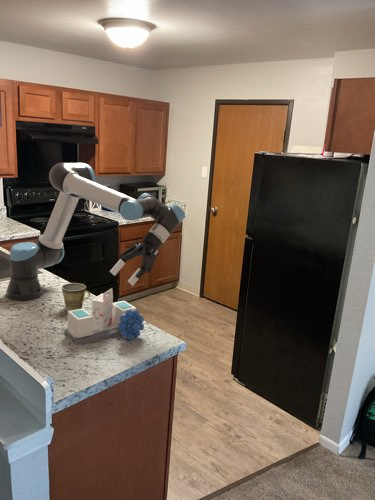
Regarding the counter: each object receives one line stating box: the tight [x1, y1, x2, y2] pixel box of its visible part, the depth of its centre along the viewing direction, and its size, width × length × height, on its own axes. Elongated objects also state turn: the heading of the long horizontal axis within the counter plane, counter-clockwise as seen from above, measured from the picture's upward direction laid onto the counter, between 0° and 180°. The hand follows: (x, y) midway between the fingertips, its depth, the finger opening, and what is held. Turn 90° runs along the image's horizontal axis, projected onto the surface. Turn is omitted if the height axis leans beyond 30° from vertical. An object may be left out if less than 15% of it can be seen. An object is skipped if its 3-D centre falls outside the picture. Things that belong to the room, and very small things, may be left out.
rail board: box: [63, 300, 137, 346], centre depth 160 cm, size 12×25×9 cm, turn 129°
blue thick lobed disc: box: [118, 309, 145, 341], centre depth 154 cm, size 12×7×12 cm, turn 133°
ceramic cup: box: [61, 282, 91, 312], centre depth 179 cm, size 13×10×10 cm
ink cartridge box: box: [91, 287, 114, 331], centre depth 159 cm, size 9×5×15 cm, turn 166°
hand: (120, 278), depth 161 cm, fingers open, 13 cm apart
